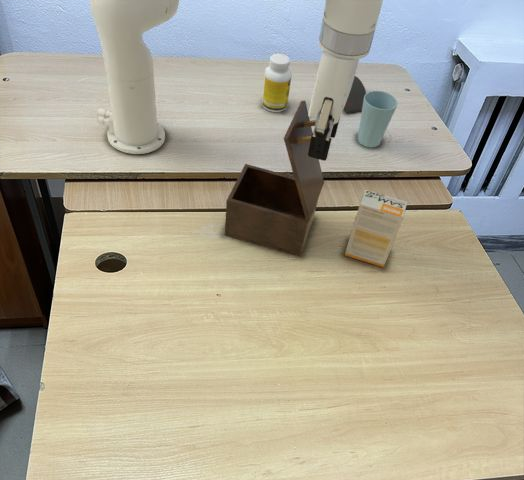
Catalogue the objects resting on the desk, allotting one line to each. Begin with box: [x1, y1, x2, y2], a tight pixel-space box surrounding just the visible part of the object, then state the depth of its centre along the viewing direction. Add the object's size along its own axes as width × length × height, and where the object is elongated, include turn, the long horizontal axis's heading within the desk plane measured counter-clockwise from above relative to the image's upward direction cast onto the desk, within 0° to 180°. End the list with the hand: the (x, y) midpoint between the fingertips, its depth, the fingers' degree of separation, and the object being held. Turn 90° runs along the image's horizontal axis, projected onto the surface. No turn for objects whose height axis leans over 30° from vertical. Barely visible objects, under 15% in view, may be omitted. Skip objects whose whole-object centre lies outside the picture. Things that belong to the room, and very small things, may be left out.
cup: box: [357, 90, 399, 148], centre depth 124 cm, size 8×8×10 cm
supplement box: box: [344, 189, 408, 268], centre depth 101 cm, size 8×5×13 cm, turn 71°
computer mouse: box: [343, 75, 367, 114], centre depth 137 cm, size 8×14×4 cm, turn 23°
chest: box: [224, 163, 319, 257], centre depth 105 cm, size 16×12×9 cm
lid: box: [283, 100, 329, 221], centre depth 93 cm, size 16×12×5 cm
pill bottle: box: [261, 53, 292, 113], centre depth 128 cm, size 6×6×12 cm
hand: (321, 145), depth 91 cm, fingers closed on lid, 6 cm apart
